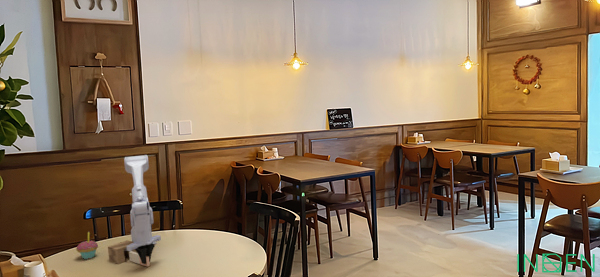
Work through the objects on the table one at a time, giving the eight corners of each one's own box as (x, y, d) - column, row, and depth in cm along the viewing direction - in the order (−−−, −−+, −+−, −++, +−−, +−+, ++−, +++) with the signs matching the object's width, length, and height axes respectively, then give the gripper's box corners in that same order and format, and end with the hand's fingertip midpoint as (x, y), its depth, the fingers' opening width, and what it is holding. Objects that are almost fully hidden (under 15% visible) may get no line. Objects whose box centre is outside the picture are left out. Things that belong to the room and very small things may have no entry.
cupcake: (103, 254, 196) (100, 228, 195) (87, 262, 189) (84, 234, 187) (89, 252, 200) (86, 226, 198) (73, 259, 192) (70, 232, 191)
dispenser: (109, 260, 189) (107, 246, 188) (128, 253, 196) (127, 240, 195) (119, 264, 184) (117, 249, 183) (138, 256, 191) (137, 243, 191)
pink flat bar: (129, 260, 186) (128, 252, 186) (132, 259, 187) (131, 251, 187) (147, 266, 179) (146, 257, 178) (149, 265, 180) (148, 256, 179)
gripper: (132, 237, 170) (135, 271, 172) (164, 226, 182) (167, 258, 184) (122, 234, 175) (125, 267, 176) (153, 224, 186) (156, 255, 188)
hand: (146, 262), depth 180 cm, fingers closed on pink flat bar
